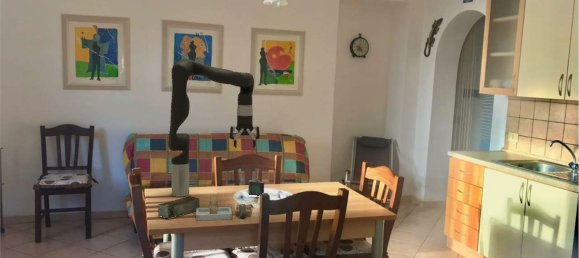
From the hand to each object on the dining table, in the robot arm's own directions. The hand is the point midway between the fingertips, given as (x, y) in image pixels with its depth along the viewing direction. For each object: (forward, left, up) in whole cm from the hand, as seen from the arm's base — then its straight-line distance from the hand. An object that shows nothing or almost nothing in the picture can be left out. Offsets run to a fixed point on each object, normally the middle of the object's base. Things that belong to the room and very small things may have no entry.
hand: (244, 147), depth 228 cm
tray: (+12, -15, -30) cm, 36 cm away
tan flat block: (+9, -1, -30) cm, 32 cm away
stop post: (+15, -2, -30) cm, 34 cm away
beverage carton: (+5, -31, -31) cm, 44 cm away
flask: (-18, +8, -30) cm, 36 cm away
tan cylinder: (+12, -15, -29) cm, 35 cm away
